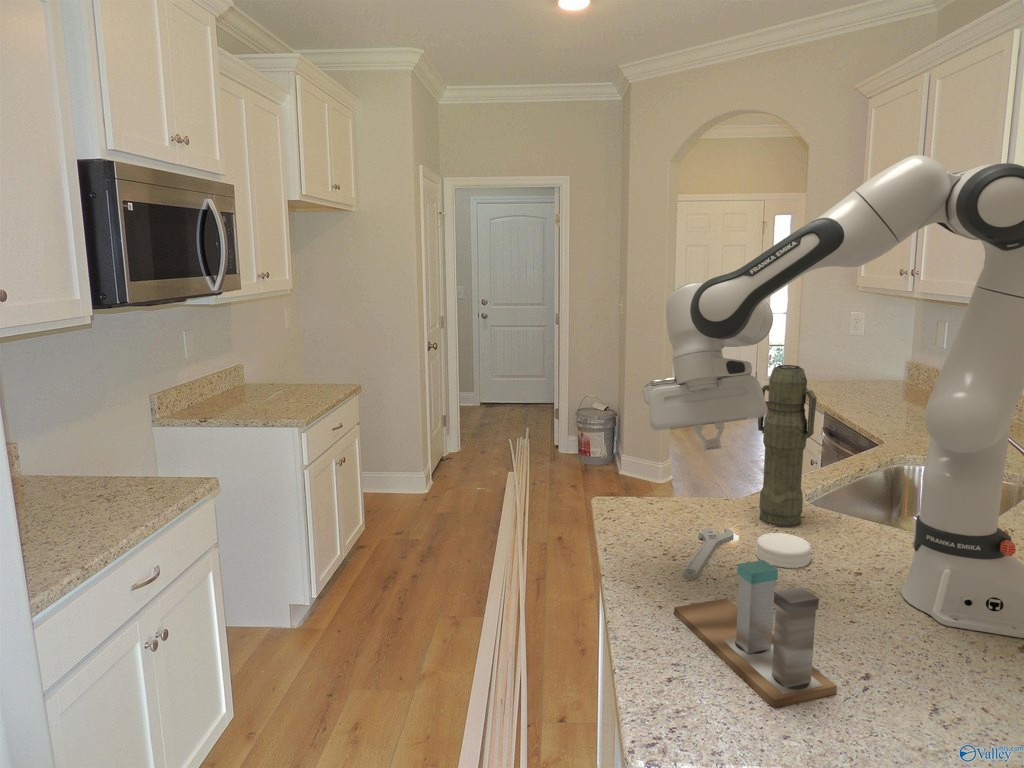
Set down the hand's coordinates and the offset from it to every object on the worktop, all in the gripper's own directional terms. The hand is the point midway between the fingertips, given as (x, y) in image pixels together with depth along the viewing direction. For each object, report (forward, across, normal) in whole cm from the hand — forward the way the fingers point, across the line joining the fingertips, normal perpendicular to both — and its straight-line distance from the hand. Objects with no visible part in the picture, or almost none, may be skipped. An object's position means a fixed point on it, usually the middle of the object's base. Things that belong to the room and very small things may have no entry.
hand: (712, 449), depth 123 cm
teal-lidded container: (+31, 0, -13) cm, 33 cm away
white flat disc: (+21, +12, +22) cm, 33 cm away
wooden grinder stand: (+32, -1, -11) cm, 33 cm away
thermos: (+14, +16, +41) cm, 46 cm away
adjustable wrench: (+19, -3, +22) cm, 29 cm away
